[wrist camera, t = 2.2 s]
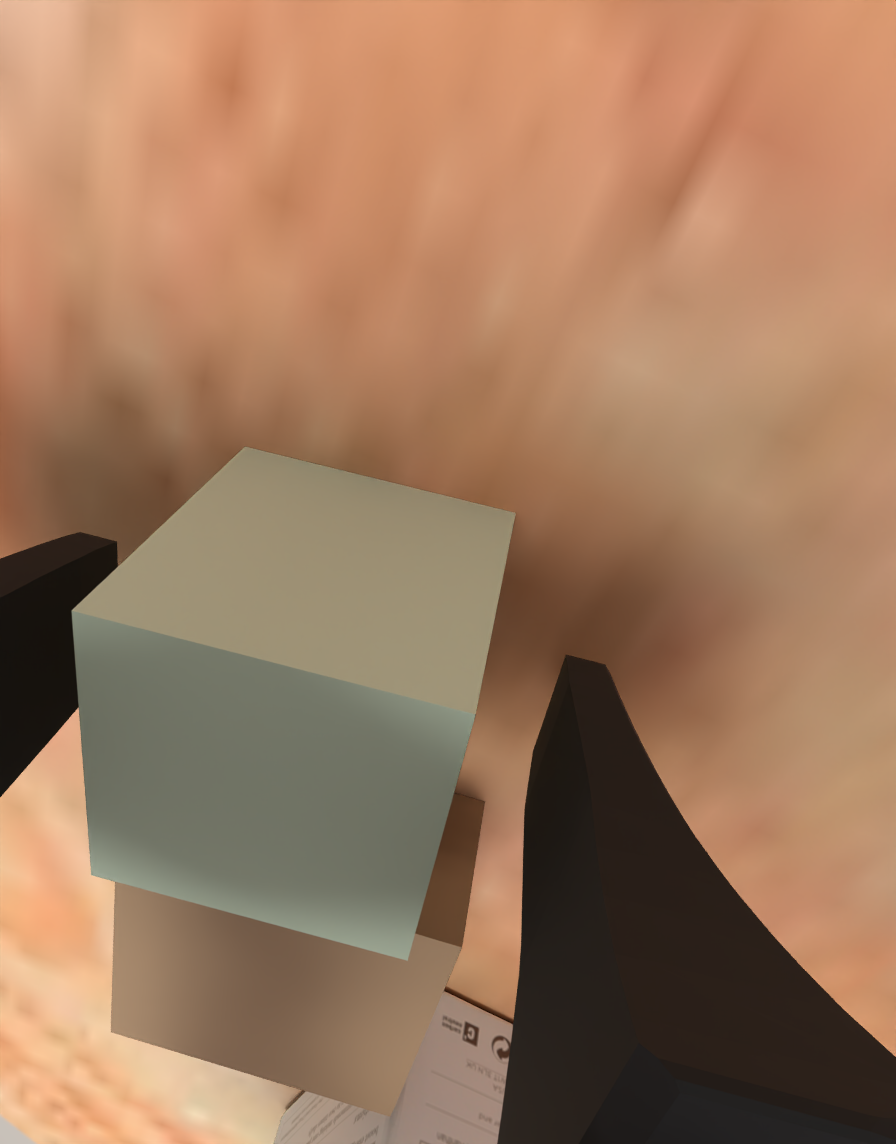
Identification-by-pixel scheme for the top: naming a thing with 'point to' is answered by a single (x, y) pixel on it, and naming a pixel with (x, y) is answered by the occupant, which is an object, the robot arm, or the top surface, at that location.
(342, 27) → the top surface
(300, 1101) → the supplement box
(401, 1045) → the walnut block
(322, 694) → the sage block
